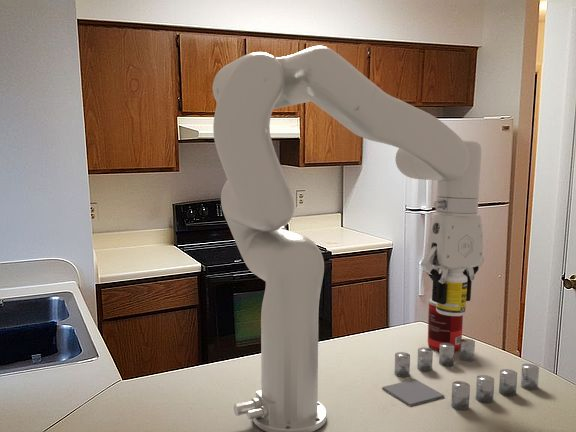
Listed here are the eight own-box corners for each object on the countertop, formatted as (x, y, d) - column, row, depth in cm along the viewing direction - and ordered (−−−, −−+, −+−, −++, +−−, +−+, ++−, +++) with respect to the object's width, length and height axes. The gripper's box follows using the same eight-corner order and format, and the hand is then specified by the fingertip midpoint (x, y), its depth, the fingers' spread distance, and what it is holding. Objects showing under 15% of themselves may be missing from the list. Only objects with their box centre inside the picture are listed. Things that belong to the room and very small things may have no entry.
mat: (410, 406, 95) (410, 404, 95) (382, 388, 102) (382, 386, 102) (444, 397, 99) (444, 395, 99) (415, 380, 106) (415, 379, 106)
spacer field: (460, 411, 94) (461, 389, 93) (391, 372, 110) (391, 353, 110) (541, 387, 103) (542, 367, 103) (466, 355, 120) (467, 337, 119)
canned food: (457, 341, 129) (459, 296, 128) (465, 353, 121) (467, 305, 120) (424, 340, 130) (426, 295, 128) (430, 352, 122) (431, 304, 121)
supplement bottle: (465, 318, 100) (468, 266, 99) (435, 314, 101) (437, 263, 100) (465, 311, 105) (468, 261, 104) (436, 307, 107) (439, 259, 106)
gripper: (436, 209, 94) (430, 310, 96) (505, 207, 102) (498, 301, 104) (407, 205, 100) (403, 300, 102) (474, 204, 108) (469, 292, 110)
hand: (451, 300), depth 103 cm, fingers closed on supplement bottle, 5 cm apart
